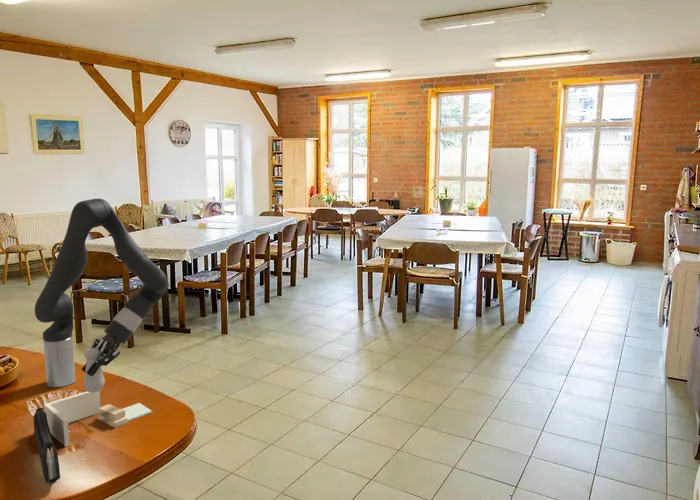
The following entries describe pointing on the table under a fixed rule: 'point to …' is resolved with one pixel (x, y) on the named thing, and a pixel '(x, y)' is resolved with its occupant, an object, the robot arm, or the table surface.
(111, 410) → the offcut short
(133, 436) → the table surface
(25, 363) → the table surface
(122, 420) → the block
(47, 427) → the magazine
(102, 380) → the salt shaker
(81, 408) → the bracket
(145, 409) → the tile
